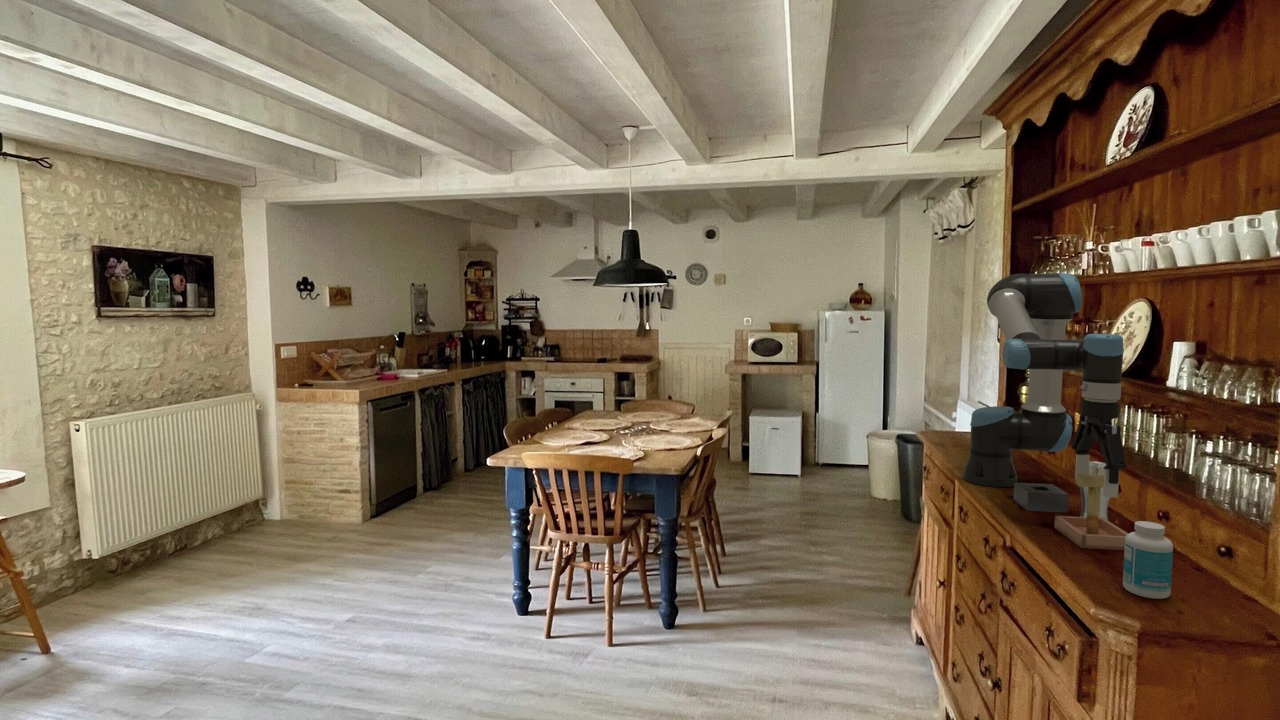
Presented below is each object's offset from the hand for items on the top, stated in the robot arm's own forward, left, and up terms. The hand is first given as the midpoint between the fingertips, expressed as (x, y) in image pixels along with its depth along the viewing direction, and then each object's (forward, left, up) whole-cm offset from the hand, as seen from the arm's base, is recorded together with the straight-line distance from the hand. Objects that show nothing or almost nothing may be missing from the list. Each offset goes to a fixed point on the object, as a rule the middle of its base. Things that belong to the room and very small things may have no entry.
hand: (1095, 488), depth 156 cm
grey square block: (-25, -2, -12) cm, 28 cm away
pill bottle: (+30, -4, -12) cm, 33 cm away
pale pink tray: (0, 0, -12) cm, 12 cm away
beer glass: (-14, +6, -12) cm, 19 cm away
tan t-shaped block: (0, 0, -11) cm, 11 cm away
